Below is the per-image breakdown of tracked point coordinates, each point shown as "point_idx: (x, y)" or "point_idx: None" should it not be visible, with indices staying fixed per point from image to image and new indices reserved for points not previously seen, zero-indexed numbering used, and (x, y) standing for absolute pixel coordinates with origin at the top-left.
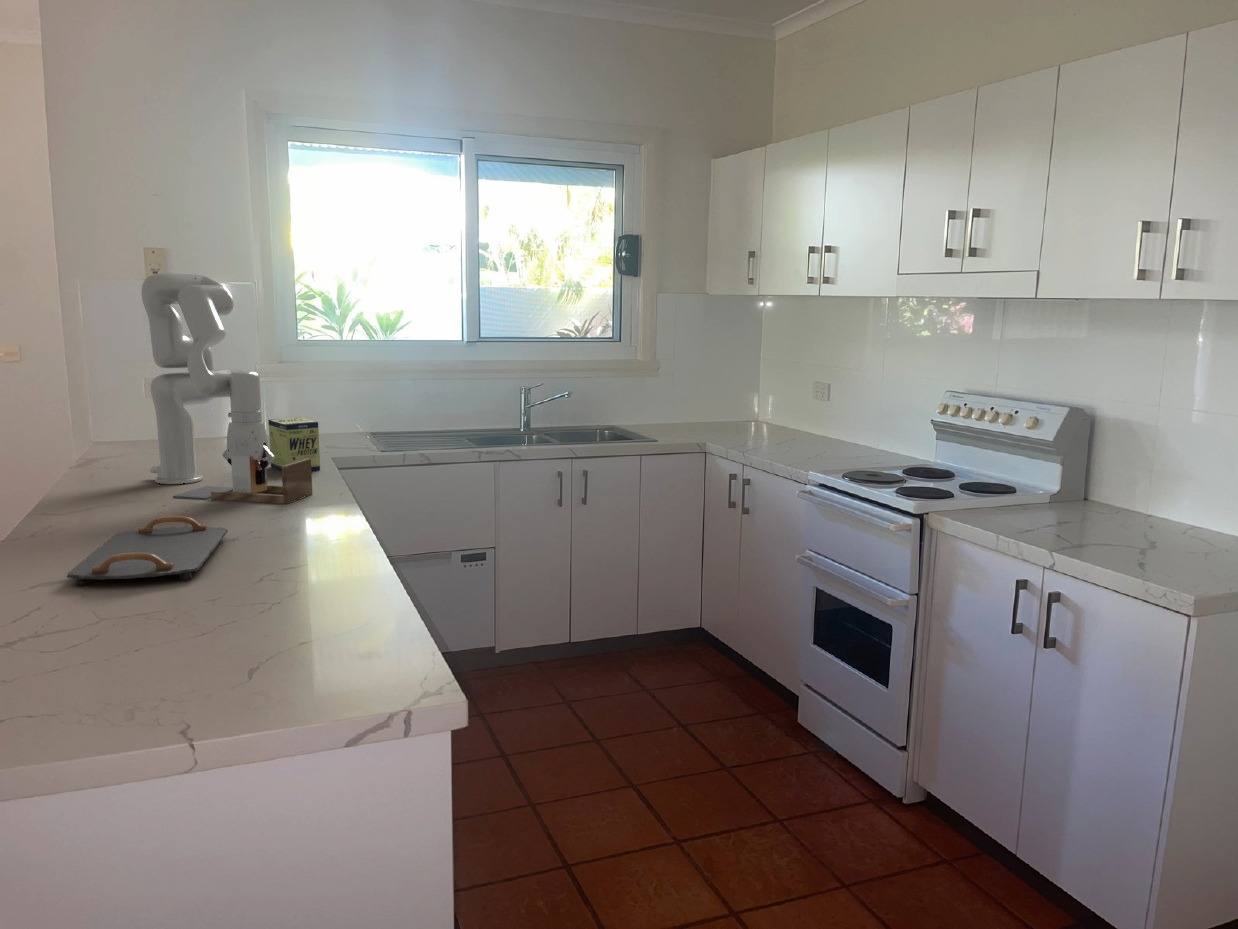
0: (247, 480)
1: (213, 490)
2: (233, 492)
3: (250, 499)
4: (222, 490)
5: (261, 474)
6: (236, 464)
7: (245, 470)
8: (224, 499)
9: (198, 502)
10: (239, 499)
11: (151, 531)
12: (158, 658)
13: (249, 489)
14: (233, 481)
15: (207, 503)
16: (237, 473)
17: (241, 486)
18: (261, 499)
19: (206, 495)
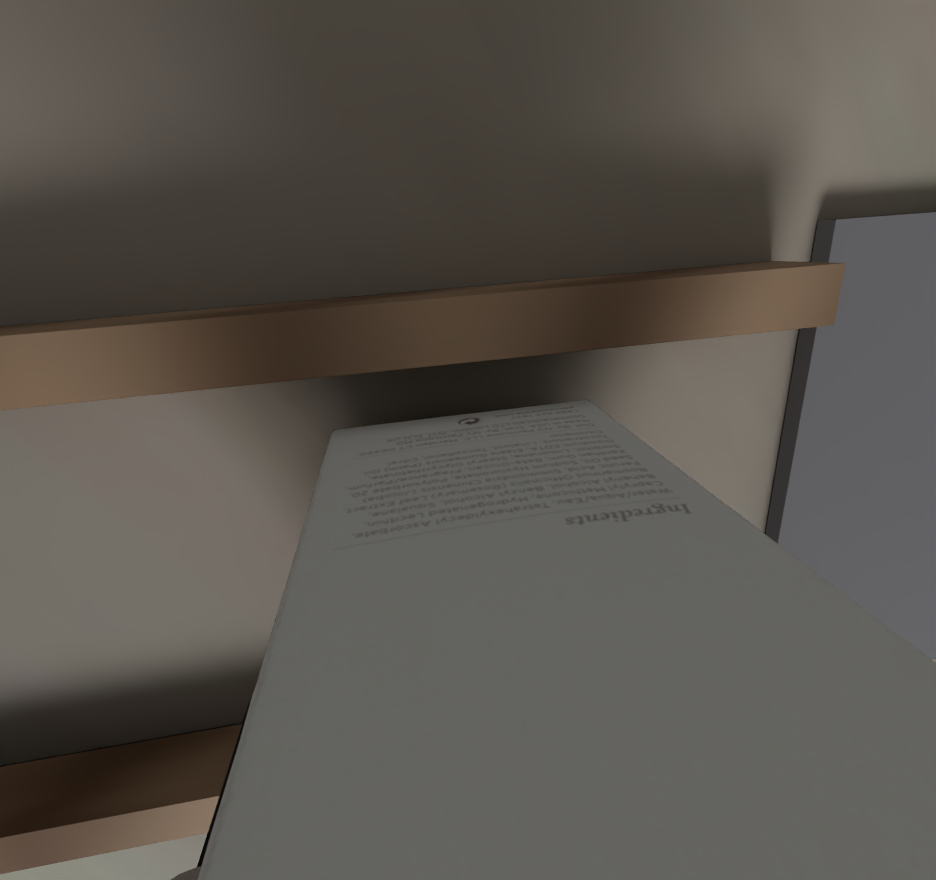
0: (368, 517)
1: (902, 542)
2: (538, 334)
3: (244, 308)
4: (826, 572)
5: (220, 795)
6: (825, 776)
7: (405, 665)
8: (613, 275)
9: (837, 36)
10: (412, 294)
11: None
12: None
13: (346, 452)
14: (645, 458)
15: (701, 9)
16: (629, 557)
17: (478, 444)
18: (58, 324)
19: (879, 331)
